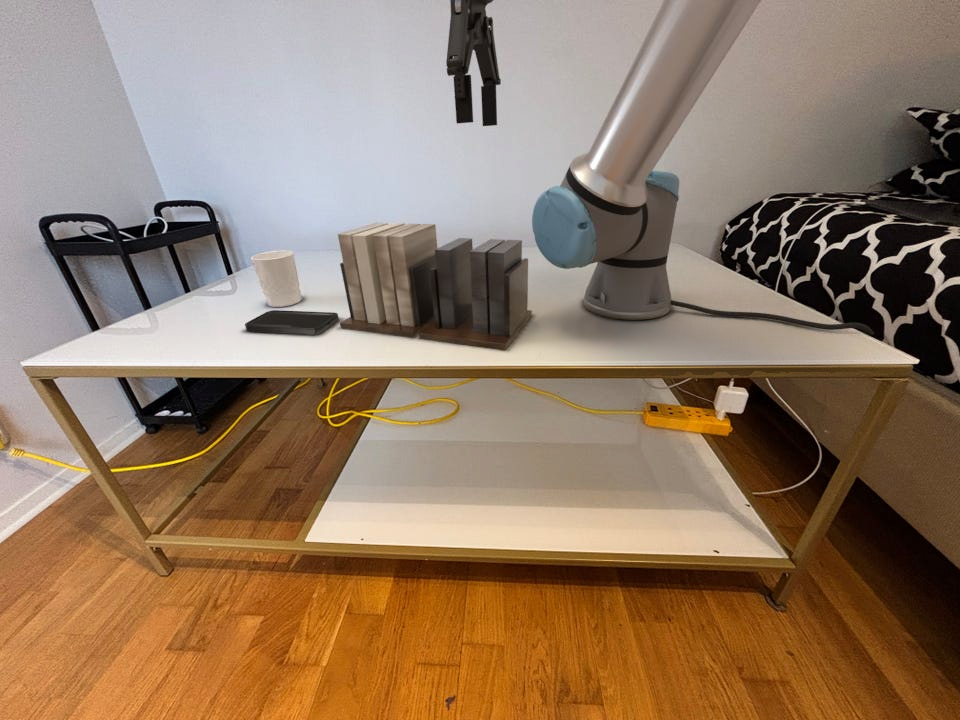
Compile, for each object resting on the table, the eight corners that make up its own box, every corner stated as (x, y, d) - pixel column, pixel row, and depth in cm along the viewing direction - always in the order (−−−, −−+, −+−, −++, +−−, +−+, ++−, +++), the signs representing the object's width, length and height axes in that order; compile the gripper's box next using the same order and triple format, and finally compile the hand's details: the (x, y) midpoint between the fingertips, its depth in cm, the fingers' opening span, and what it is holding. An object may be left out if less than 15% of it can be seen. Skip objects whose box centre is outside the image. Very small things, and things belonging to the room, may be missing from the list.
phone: (270, 310, 80) (340, 312, 77) (271, 315, 80) (341, 318, 77) (241, 325, 73) (316, 329, 70) (243, 331, 73) (318, 335, 70)
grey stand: (531, 315, 75) (533, 236, 68) (505, 350, 63) (504, 258, 56) (457, 307, 80) (451, 234, 74) (419, 338, 68) (408, 253, 61)
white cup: (286, 309, 83) (273, 260, 79) (256, 306, 86) (241, 258, 81) (312, 297, 90) (301, 251, 85) (283, 294, 92) (271, 249, 88)
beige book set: (452, 307, 80) (445, 222, 73) (413, 337, 68) (401, 239, 61) (387, 300, 86) (375, 220, 78) (340, 328, 73) (320, 236, 66)
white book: (414, 301, 81) (404, 222, 74) (379, 324, 71) (365, 235, 65) (403, 300, 82) (393, 222, 75) (368, 322, 72) (352, 235, 65)
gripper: (475, -4, 76) (481, 127, 86) (413, -59, 55) (429, 123, 65) (514, -11, 74) (516, 125, 83) (465, -71, 53) (474, 119, 62)
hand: (478, 124), depth 74 cm, fingers open, 13 cm apart
